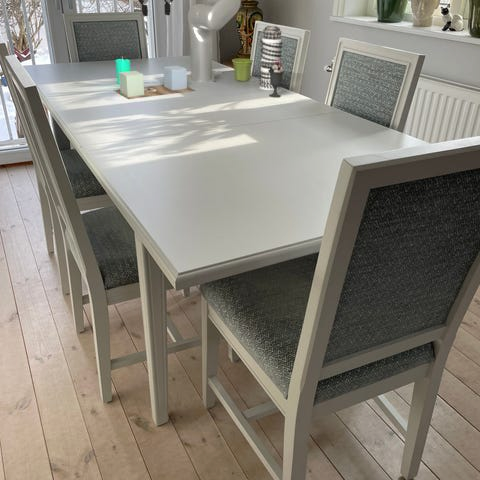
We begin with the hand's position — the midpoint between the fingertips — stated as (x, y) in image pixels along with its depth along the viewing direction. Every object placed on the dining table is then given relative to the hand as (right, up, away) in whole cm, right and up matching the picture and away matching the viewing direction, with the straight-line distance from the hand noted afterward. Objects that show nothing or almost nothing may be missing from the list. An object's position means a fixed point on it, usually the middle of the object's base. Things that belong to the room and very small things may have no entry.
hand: (156, 15), depth 205 cm
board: (-1, -30, +5) cm, 30 cm away
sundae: (+48, -30, +8) cm, 57 cm away
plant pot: (+34, -16, +32) cm, 49 cm away
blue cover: (+6, -26, +11) cm, 28 cm away
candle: (-16, -24, +14) cm, 32 cm away
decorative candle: (+46, -23, +20) cm, 55 cm away
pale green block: (-9, -32, -1) cm, 33 cm away
